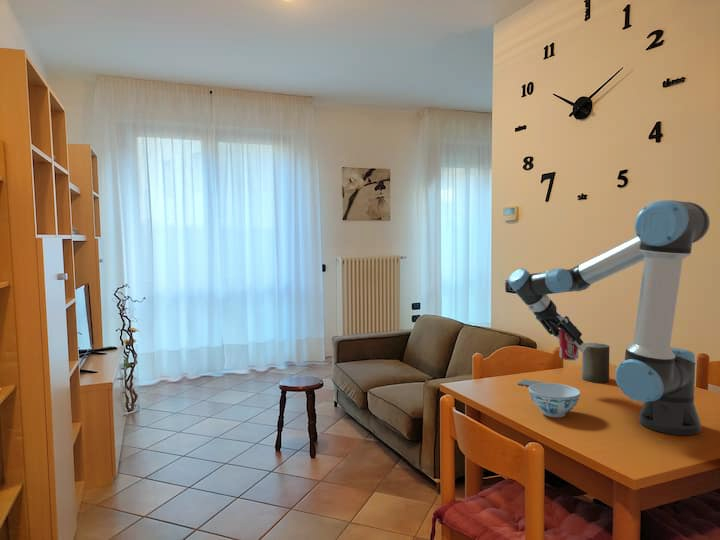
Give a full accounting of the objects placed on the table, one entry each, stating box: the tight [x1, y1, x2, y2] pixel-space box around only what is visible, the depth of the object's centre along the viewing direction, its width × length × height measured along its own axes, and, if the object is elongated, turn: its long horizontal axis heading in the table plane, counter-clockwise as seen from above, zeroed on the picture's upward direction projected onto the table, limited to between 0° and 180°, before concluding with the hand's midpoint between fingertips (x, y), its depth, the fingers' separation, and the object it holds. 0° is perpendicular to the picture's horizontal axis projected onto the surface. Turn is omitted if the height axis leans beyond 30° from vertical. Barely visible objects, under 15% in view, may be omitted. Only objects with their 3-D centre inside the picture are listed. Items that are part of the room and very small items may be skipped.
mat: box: [517, 379, 544, 387], centre depth 183 cm, size 7×8×1 cm
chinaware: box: [528, 382, 581, 418], centre depth 152 cm, size 15×15×8 cm
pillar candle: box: [581, 342, 610, 384], centre depth 189 cm, size 10×10×15 cm
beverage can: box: [558, 325, 579, 361], centre depth 173 cm, size 6×6×12 cm
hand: (576, 347), depth 174 cm, fingers closed on beverage can, 6 cm apart
